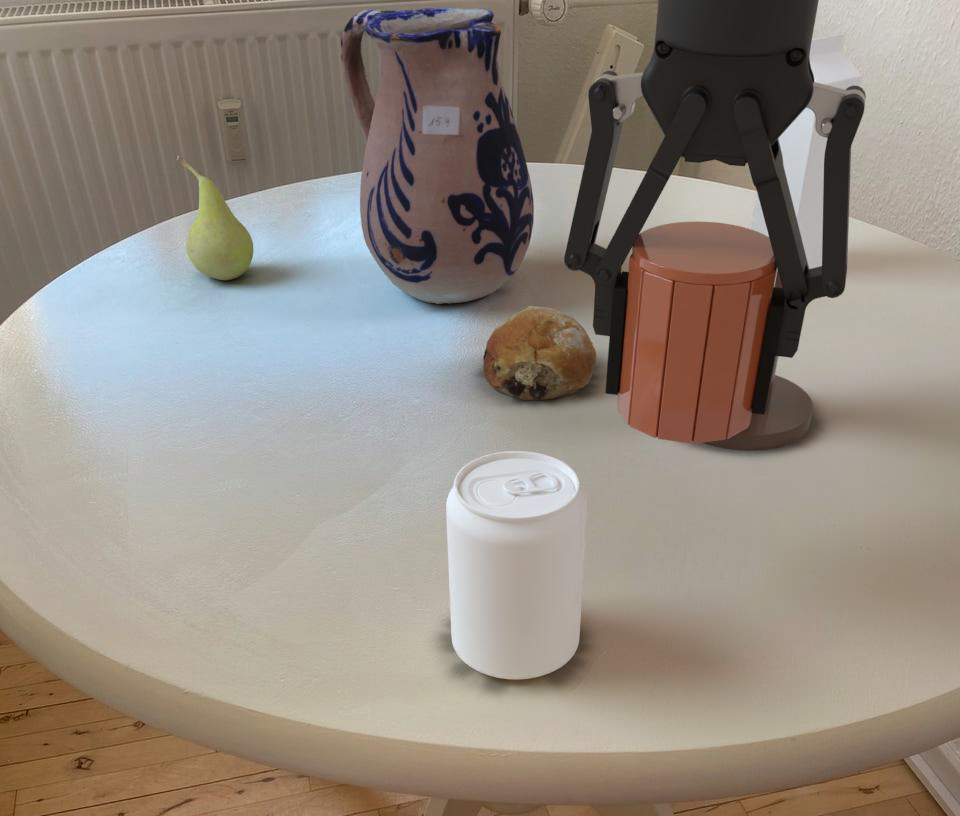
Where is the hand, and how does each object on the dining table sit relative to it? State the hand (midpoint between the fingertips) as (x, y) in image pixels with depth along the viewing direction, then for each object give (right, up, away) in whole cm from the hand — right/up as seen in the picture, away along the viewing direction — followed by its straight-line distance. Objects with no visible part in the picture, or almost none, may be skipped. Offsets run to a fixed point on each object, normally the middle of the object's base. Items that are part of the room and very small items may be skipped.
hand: (686, 393), depth 64 cm
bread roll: (-7, +9, +32) cm, 34 cm away
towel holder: (+9, +4, +26) cm, 28 cm away
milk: (+21, +26, +51) cm, 61 cm away
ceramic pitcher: (-17, +23, +48) cm, 56 cm away
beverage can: (-10, -15, +4) cm, 19 cm away
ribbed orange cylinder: (0, -1, +1) cm, 1 cm away
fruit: (-40, +24, +51) cm, 69 cm away
